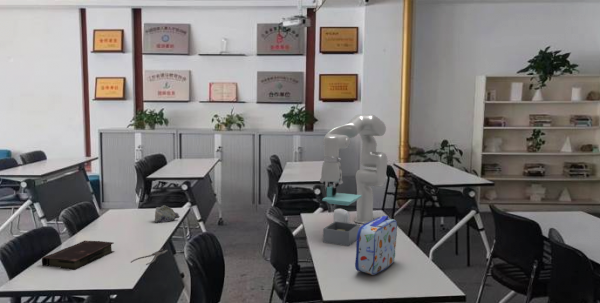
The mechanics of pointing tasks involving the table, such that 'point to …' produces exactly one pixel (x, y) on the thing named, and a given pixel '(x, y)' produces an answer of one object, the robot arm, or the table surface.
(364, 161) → the robot arm
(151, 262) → the pliers
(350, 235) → the tub
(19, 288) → the table surface
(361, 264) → the lunch box
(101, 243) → the diary
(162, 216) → the mineral rock
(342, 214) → the photo printer
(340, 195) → the lid
